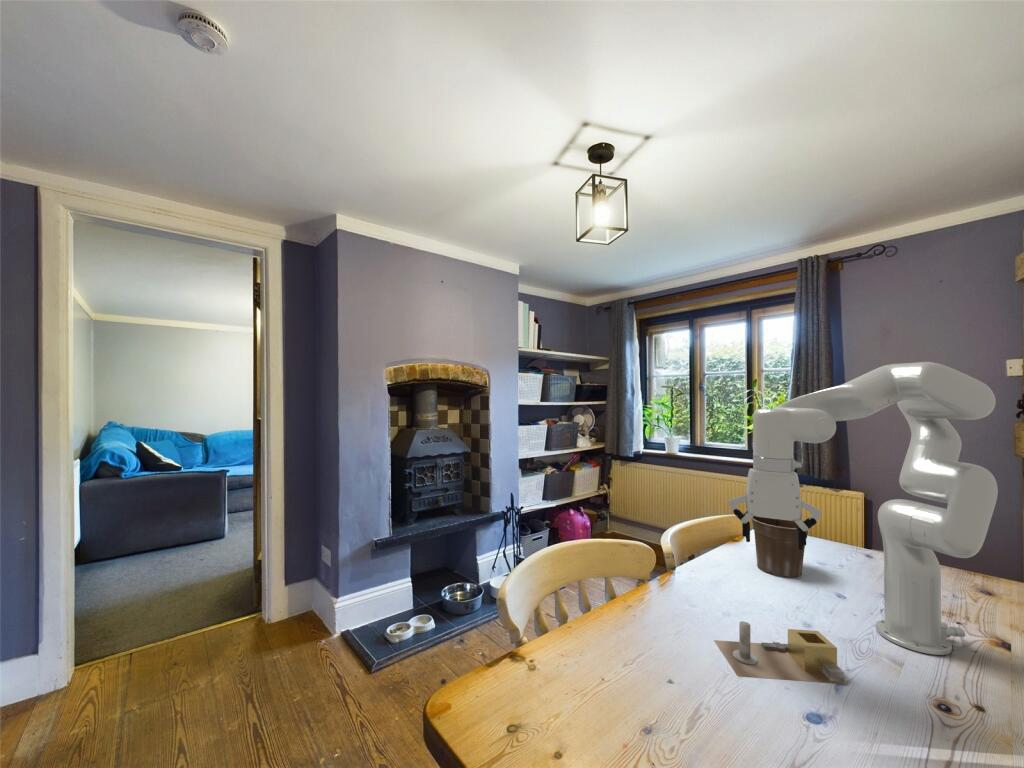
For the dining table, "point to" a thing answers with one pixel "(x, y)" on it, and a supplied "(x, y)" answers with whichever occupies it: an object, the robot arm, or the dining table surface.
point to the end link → (811, 649)
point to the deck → (771, 661)
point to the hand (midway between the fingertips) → (773, 544)
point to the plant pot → (778, 547)
